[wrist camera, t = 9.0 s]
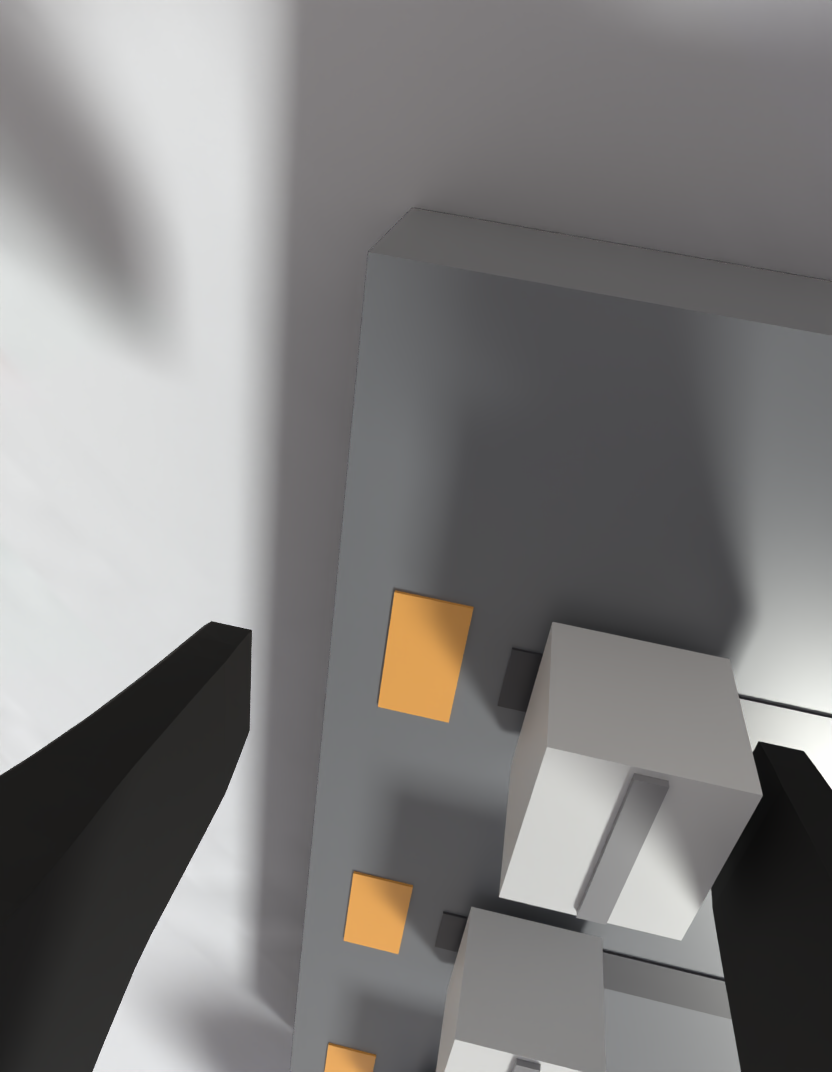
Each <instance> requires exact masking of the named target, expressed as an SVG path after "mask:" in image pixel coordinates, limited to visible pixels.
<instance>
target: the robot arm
mask: <svg viewBox="0 0 832 1072" xmlns="http://www.w3.org/2000/svg"><path fill="white" fill-rule="evenodd" d="M251 646H252V630H249V629H244V628H240V627H235V626H231V625H226V624H221V623H217V622H212V621H211V622H209V623H208V624H206V625H204V626H203V627H202V628H201V629H199V630H198V631H197V632H196V633H195V634H193V635H192V636H191V637H190V638H188V639H187V640H186V641H185V642H184V643H182V644H181V645H180V646H179V647H178V648H176V649H175V650H174V651H173V652H171V653H170V654H169V655H168V656H166V657H165V658H164V659H163V660H162V661H160V662H159V663H158V664H157V665H155V666H154V667H153V668H152V669H150V670H149V671H148V672H146V673H145V674H144V675H143V676H141V677H140V678H139V679H138V680H136V681H135V682H134V683H132V684H131V685H130V686H128V687H127V688H126V689H124V690H123V691H122V692H121V693H119V694H118V695H117V696H115V697H114V698H113V699H111V700H110V701H109V702H107V703H106V704H105V705H103V706H102V707H101V708H99V709H98V710H97V711H95V712H94V713H93V714H91V715H90V716H88V717H87V718H86V719H84V720H83V721H81V722H80V723H79V724H77V725H76V726H74V727H73V728H71V729H70V730H68V731H67V732H65V733H64V734H62V735H61V736H60V737H58V738H57V739H55V740H54V741H52V742H51V743H49V744H48V745H46V746H45V747H44V748H42V749H41V750H39V751H38V752H36V753H35V754H33V755H32V756H30V757H29V758H27V759H26V760H24V761H22V762H21V763H19V764H18V765H16V766H14V767H13V768H11V769H10V770H8V771H7V772H5V773H3V774H2V775H0V1072H92V1071H93V1069H94V1066H95V1064H96V1061H97V1059H98V1056H99V1054H100V1051H101V1049H102V1046H103V1044H104V1041H105V1039H106V1036H107V1034H108V1032H109V1029H110V1027H111V1025H112V1022H113V1020H114V1017H115V1015H116V1013H117V1010H118V1008H119V1005H120V1003H121V1001H122V998H123V996H124V993H125V991H126V989H127V986H128V984H129V981H130V979H131V977H132V974H133V972H134V969H135V967H136V965H137V963H138V961H139V959H140V957H141V955H142V953H143V951H144V948H145V946H146V944H147V942H148V940H149V938H150V936H151V934H152V932H153V930H154V928H155V926H156V925H157V923H158V921H159V919H160V917H161V915H162V913H163V911H164V909H165V907H166V906H167V904H168V902H169V900H170V898H171V896H172V894H173V892H174V890H175V889H176V887H177V885H178V883H179V881H180V879H181V877H182V875H183V873H184V872H185V870H186V868H187V866H188V864H189V862H190V860H191V858H192V856H193V855H194V853H195V851H196V849H197V847H198V845H199V843H200V841H201V839H202V837H203V836H204V834H205V832H206V830H207V828H208V826H209V824H210V822H211V820H212V818H213V816H214V814H215V813H216V811H217V809H218V807H219V805H220V803H221V801H222V799H223V797H224V795H225V793H226V790H227V788H228V785H229V783H230V780H231V778H232V775H233V773H234V770H235V768H236V765H237V762H238V760H239V757H240V754H241V752H242V749H243V746H244V744H245V741H246V738H247V736H248V733H249V730H250V689H251ZM753 757H754V761H755V765H756V769H757V773H758V777H759V781H760V786H761V790H762V794H763V796H762V798H761V800H760V802H759V803H758V805H757V807H756V809H755V810H754V812H753V814H752V816H751V818H750V819H749V821H748V823H747V825H746V826H745V828H744V830H743V832H742V834H741V835H740V837H739V839H738V841H737V842H736V844H735V846H734V848H733V850H732V851H731V853H730V855H729V857H728V859H727V860H726V862H725V864H724V866H723V867H722V869H721V871H720V873H719V875H718V876H717V878H716V880H715V882H714V883H713V885H712V887H711V894H712V909H713V915H714V921H715V928H716V933H717V939H718V945H719V951H720V957H721V963H722V968H723V974H724V980H725V985H726V991H727V996H728V1002H729V1007H730V1013H731V1019H732V1024H733V1030H734V1035H735V1041H736V1046H737V1052H738V1058H739V1063H740V1069H741V1072H832V789H831V787H830V786H829V784H828V783H827V782H826V780H825V779H824V777H823V776H822V775H821V773H820V772H819V771H818V769H817V768H816V766H815V765H814V764H813V762H812V761H811V760H810V758H809V757H808V756H807V754H806V753H805V752H804V751H802V750H797V749H793V748H788V747H783V746H779V745H774V744H770V743H765V742H761V741H758V743H757V745H756V747H755V749H754V751H753Z"/></svg>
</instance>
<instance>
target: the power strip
mask: <svg viewBox="0 0 832 1072" xmlns="http://www.w3.org/2000/svg"><path fill="white" fill-rule="evenodd" d="M552 622H556V623H561V624H566V625H571V626H575V627H580V628H585V629H589V630H594V631H599V632H604V633H608V634H613V635H618V636H623V637H627V638H632V639H637V640H641V641H646V642H651V643H656V644H660V645H665V646H670V647H674V648H679V649H684V650H689V651H693V652H698V653H703V654H707V655H712V656H717V657H722V658H726V659H730V663H731V667H732V671H733V675H734V679H735V684H736V688H737V692H738V696H739V700H740V704H741V708H742V712H743V716H744V720H745V724H746V728H747V732H748V737H749V741H750V745H751V749H752V753H753V751H754V749H755V747H756V745H757V743H758V741H761V742H765V743H770V744H774V745H779V746H783V747H788V748H793V749H797V750H802V751H804V752H805V753H806V754H807V756H808V757H809V758H810V760H811V761H812V762H813V764H814V765H815V766H816V768H817V769H818V771H819V772H820V773H821V775H822V776H823V777H824V779H825V780H826V782H827V783H828V784H829V786H830V787H831V789H832V281H828V280H822V279H816V278H811V277H805V276H799V275H793V274H788V273H782V272H776V271H771V270H765V269H759V268H754V267H748V266H742V265H736V264H731V263H725V262H719V261H714V260H708V259H702V258H697V257H691V256H685V255H679V254H674V253H668V252H662V251H657V250H651V249H645V248H640V247H634V246H628V245H622V244H617V243H611V242H605V241H600V240H594V239H588V238H583V237H577V236H571V235H565V234H560V233H554V232H548V231H543V230H537V229H531V228H525V227H520V226H514V225H508V224H503V223H497V222H491V221H486V220H480V219H474V218H468V217H463V216H457V215H451V214H446V213H440V212H434V211H429V210H423V209H417V208H412V209H411V210H410V211H409V212H408V213H407V214H406V215H405V216H404V217H403V218H402V219H401V220H400V221H399V222H398V223H397V224H396V225H395V226H394V227H393V228H392V229H391V230H390V231H389V232H388V233H387V234H386V235H385V236H384V237H383V238H382V239H381V240H380V241H379V242H378V243H377V244H376V245H375V246H374V247H373V248H372V249H371V250H370V251H369V252H368V258H367V268H366V279H365V289H364V300H363V310H362V321H361V331H360V342H359V352H358V362H357V373H356V383H355V394H354V404H353V415H352V425H351V436H350V446H349V457H348V467H347V478H346V488H345V499H344V509H343V520H342V530H341V541H340V551H339V562H338V572H337V583H336V593H335V604H334V614H333V625H332V635H331V646H330V656H329V666H328V677H327V687H326V698H325V708H324V719H323V729H322V740H321V750H320V761H319V771H318V782H317V792H316V803H315V813H314V824H313V834H312V845H311V855H310V866H309V876H308V887H307V897H306V908H305V918H304V929H303V939H302V949H301V960H300V970H299V981H298V991H297V1002H296V1012H295V1023H294V1033H293V1044H292V1054H291V1065H290V1072H436V1067H437V1060H438V1052H439V1045H440V1038H441V1031H442V1024H443V1016H444V1009H445V1002H446V995H447V988H448V985H449V981H450V978H451V974H452V971H453V968H454V964H455V961H456V957H457V954H458V950H459V947H460V944H461V940H462V937H463V933H464V930H465V926H466V923H467V920H468V916H469V913H470V909H471V907H475V908H479V909H483V910H488V911H492V912H496V913H500V914H504V915H508V916H513V917H517V918H521V919H525V920H529V921H533V922H537V923H542V924H546V925H550V926H554V927H558V928H562V929H567V930H571V931H575V932H579V933H583V934H587V935H592V936H596V937H600V938H602V948H603V985H604V1023H605V1060H606V1072H741V1069H740V1063H739V1058H738V1052H737V1046H736V1041H735V1035H734V1030H733V1024H732V1019H731V1013H730V1007H729V1002H728V996H727V991H726V985H725V980H724V974H723V968H722V963H721V957H720V951H719V945H718V939H717V933H716V928H715V921H714V915H713V909H712V894H711V889H710V891H709V892H708V894H707V896H706V898H705V899H704V901H703V903H702V905H701V907H700V908H699V910H698V912H697V914H696V915H695V917H694V919H693V921H692V923H691V924H690V926H689V928H688V930H687V931H686V933H685V935H684V937H683V939H682V940H681V941H680V940H676V939H672V938H668V937H664V936H660V935H655V934H651V933H647V932H643V931H639V930H634V929H630V928H626V927H622V926H618V925H614V924H609V923H607V924H606V925H604V924H600V923H596V922H592V921H588V920H584V919H579V918H576V915H572V914H568V913H563V912H559V911H555V910H551V909H547V908H542V907H538V906H534V905H530V904H526V903H522V902H517V901H513V900H509V899H505V898H501V897H499V890H500V879H501V869H502V858H503V847H504V836H505V826H506V815H507V804H508V793H509V782H510V772H511V763H512V760H513V756H514V753H515V749H516V746H517V742H518V739H519V735H520V732H521V729H522V725H523V722H524V718H525V715H526V711H527V708H528V704H529V701H530V697H531V694H532V691H533V687H534V684H535V680H536V677H537V673H538V670H539V666H540V663H541V660H542V656H543V653H544V649H545V646H546V642H547V639H548V635H549V632H550V628H551V625H552Z"/></svg>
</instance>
